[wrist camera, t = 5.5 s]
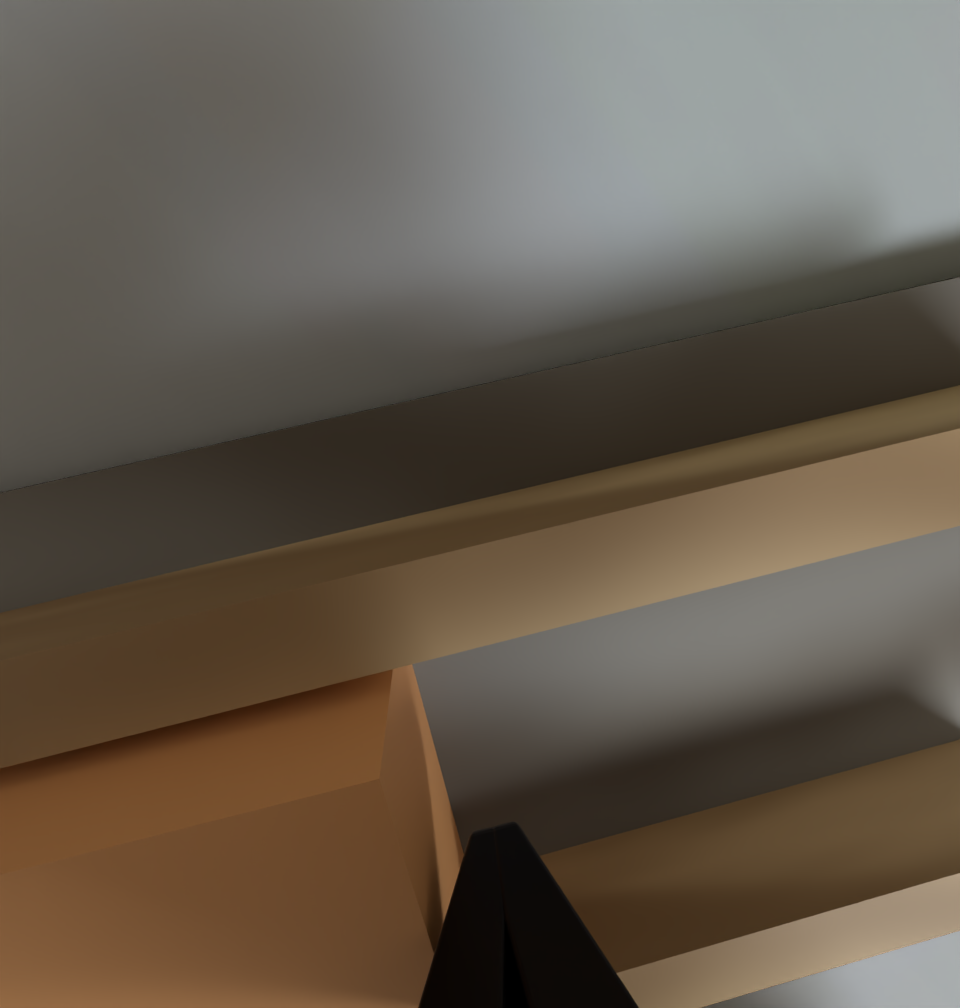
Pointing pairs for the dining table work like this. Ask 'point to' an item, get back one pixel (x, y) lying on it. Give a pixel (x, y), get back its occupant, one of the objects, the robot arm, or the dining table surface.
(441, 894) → the orange block
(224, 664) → the chute
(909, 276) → the dining table surface
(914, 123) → the dining table surface
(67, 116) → the dining table surface
